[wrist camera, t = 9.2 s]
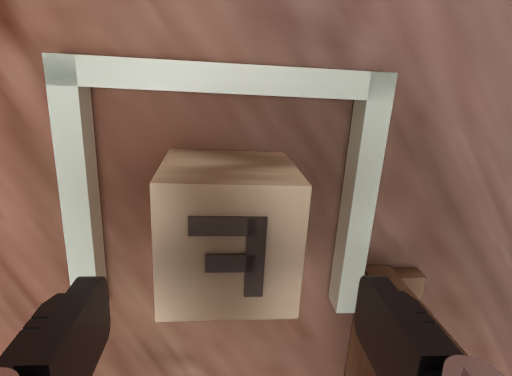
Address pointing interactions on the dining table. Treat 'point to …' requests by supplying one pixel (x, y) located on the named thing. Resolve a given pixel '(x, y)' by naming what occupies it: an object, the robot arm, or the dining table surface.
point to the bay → (228, 82)
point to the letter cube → (228, 235)
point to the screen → (404, 279)
